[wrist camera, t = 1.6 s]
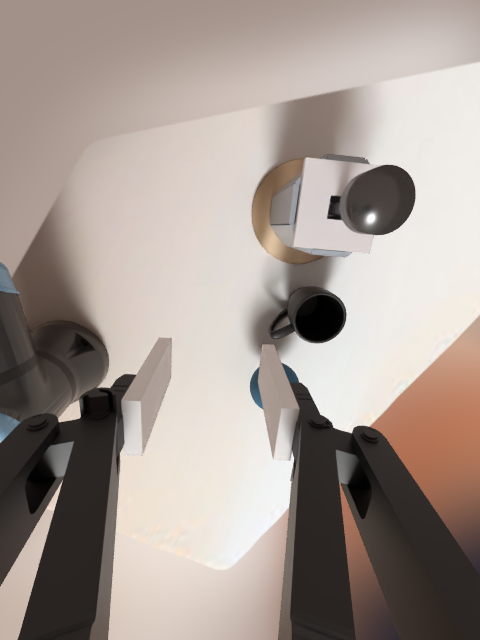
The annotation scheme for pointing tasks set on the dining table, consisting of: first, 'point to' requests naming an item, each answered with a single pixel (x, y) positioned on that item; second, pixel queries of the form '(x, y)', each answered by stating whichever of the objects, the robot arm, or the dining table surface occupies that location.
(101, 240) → the dining table surface
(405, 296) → the dining table surface
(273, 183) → the cork trivet
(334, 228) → the carafe
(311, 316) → the mug
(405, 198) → the plunger
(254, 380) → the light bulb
